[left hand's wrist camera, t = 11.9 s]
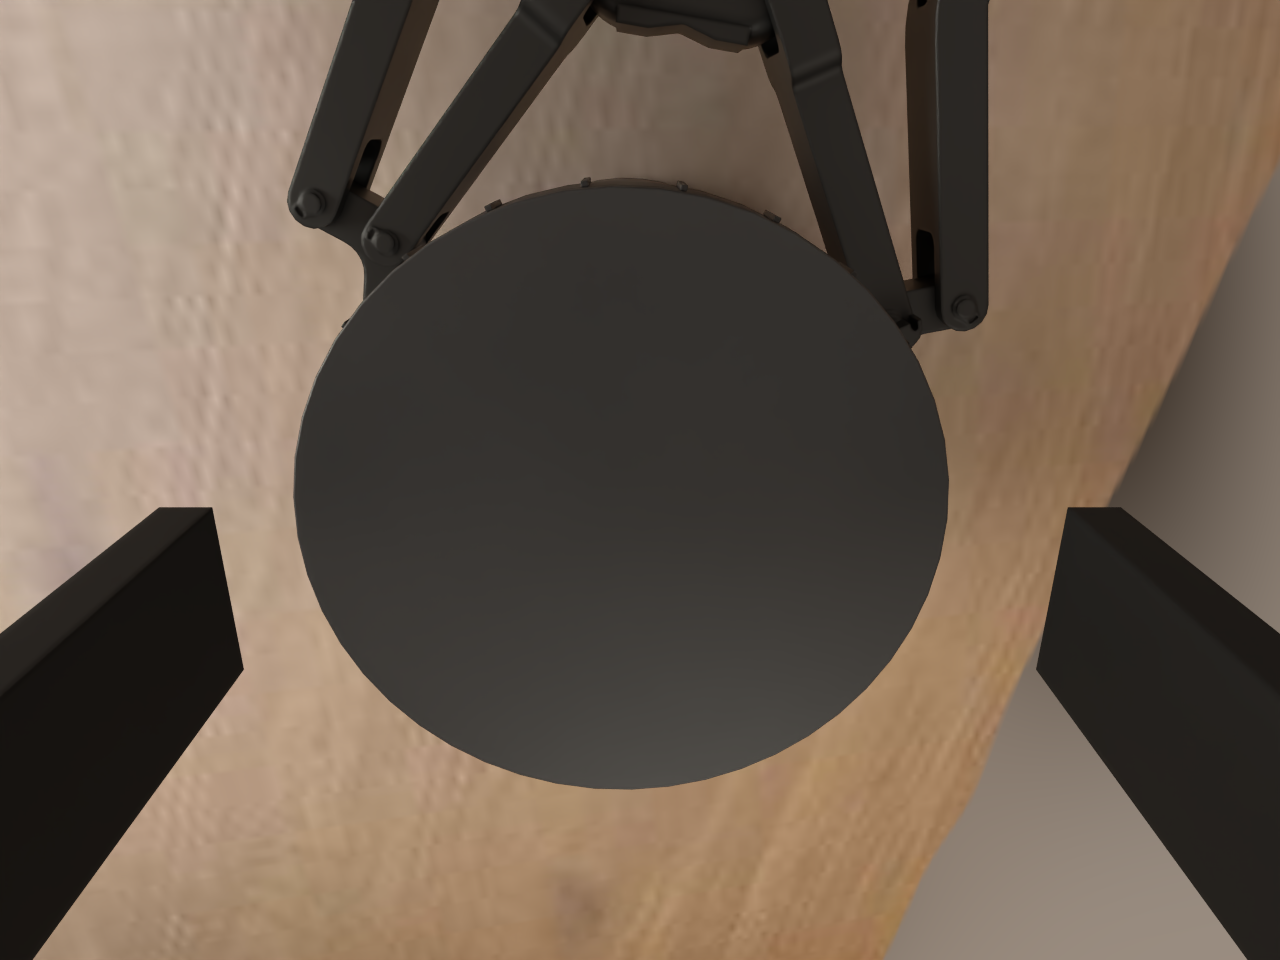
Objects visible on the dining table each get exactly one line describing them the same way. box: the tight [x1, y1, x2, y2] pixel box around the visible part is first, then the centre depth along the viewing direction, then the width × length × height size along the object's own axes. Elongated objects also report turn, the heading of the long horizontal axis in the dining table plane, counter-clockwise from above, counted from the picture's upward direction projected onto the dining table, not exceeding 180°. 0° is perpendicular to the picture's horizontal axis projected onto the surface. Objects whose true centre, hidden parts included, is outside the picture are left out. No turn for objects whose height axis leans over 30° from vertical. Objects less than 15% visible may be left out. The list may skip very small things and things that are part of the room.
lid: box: [293, 177, 949, 789], centre depth 16 cm, size 12×12×2 cm
